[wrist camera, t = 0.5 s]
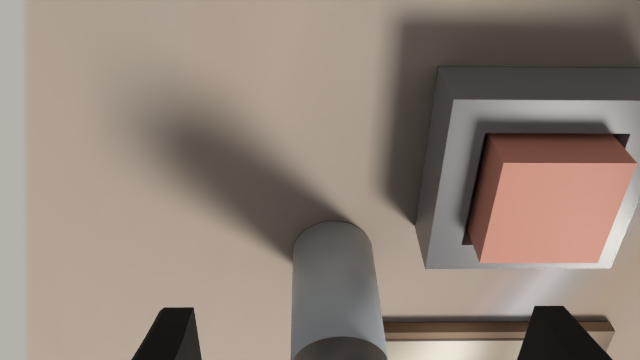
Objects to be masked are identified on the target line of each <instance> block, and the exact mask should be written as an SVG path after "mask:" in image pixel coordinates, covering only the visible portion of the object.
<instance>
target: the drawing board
mask: <svg viewBox="0 0 640 360" xmlns="http://www.w3.org/2000/svg"><path fill="white" fill-rule="evenodd" d="M578 323H579V324H580V325H581V326H582V327H583V328H584V329H585V330H586V331H587V332H588V334H589V335H590V336H591V337H592V338H593V339H594V340H595V341H596V342H597V343H598V344H599V346H600V347H601V348H602V349H603V350H604V351H605V352H606V350H607V348H608V346H609V344H610V342H611V339H612V337H613V335H614V333H615V330H614V328H613V327H612V325H611V323H610V322H578ZM528 325H529V322H453V323H383V327H384V334H385V341H386V348H387V355H388V360H517V358H518V355H519V352H520V349H521V346H522V343H523V340H524V337H525V334H526V331H527V328H528Z"/></svg>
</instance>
